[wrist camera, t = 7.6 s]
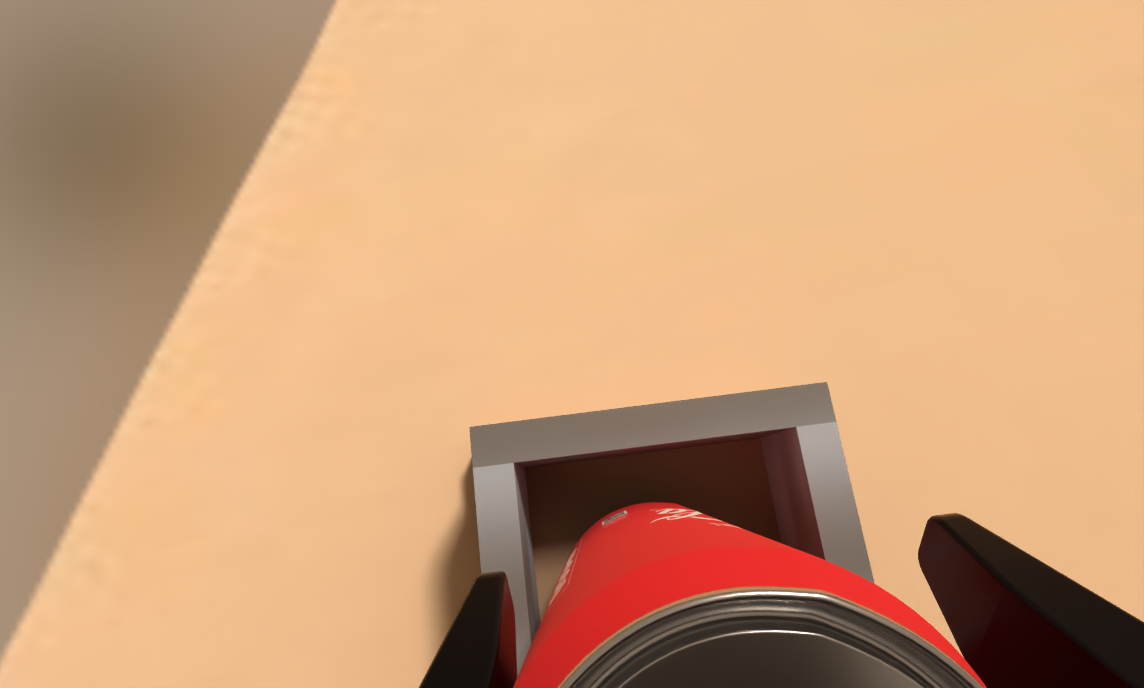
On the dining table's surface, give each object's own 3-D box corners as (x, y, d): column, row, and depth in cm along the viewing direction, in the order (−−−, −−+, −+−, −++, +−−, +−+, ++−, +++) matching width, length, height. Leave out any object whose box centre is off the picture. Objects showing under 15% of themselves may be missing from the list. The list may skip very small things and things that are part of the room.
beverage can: (531, 545, 17) (362, 712, 5) (696, 471, 17) (913, 461, 5) (606, 734, 15) (620, 1541, 4) (783, 652, 16) (1312, 1171, 4)
